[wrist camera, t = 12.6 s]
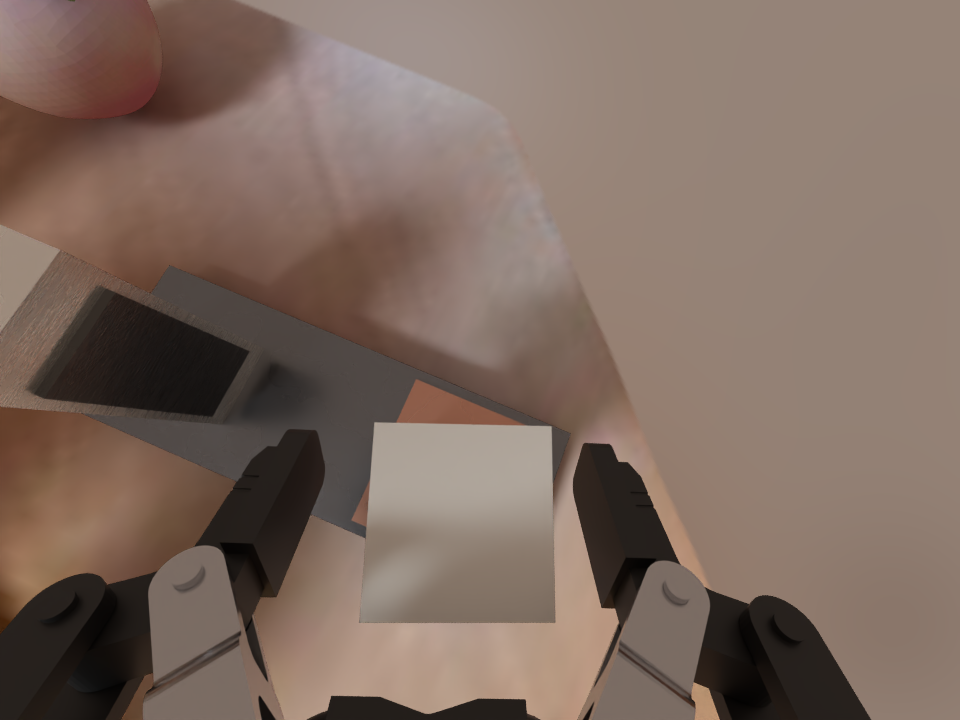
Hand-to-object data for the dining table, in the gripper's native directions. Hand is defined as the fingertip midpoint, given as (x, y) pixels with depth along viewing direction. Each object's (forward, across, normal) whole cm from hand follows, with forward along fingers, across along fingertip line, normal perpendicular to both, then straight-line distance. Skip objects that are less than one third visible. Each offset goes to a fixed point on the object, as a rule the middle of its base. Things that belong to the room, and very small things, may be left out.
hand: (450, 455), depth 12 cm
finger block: (+4, 0, +6) cm, 7 cm away
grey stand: (+7, +6, +5) cm, 10 cm away
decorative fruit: (+20, +21, -8) cm, 30 cm away
